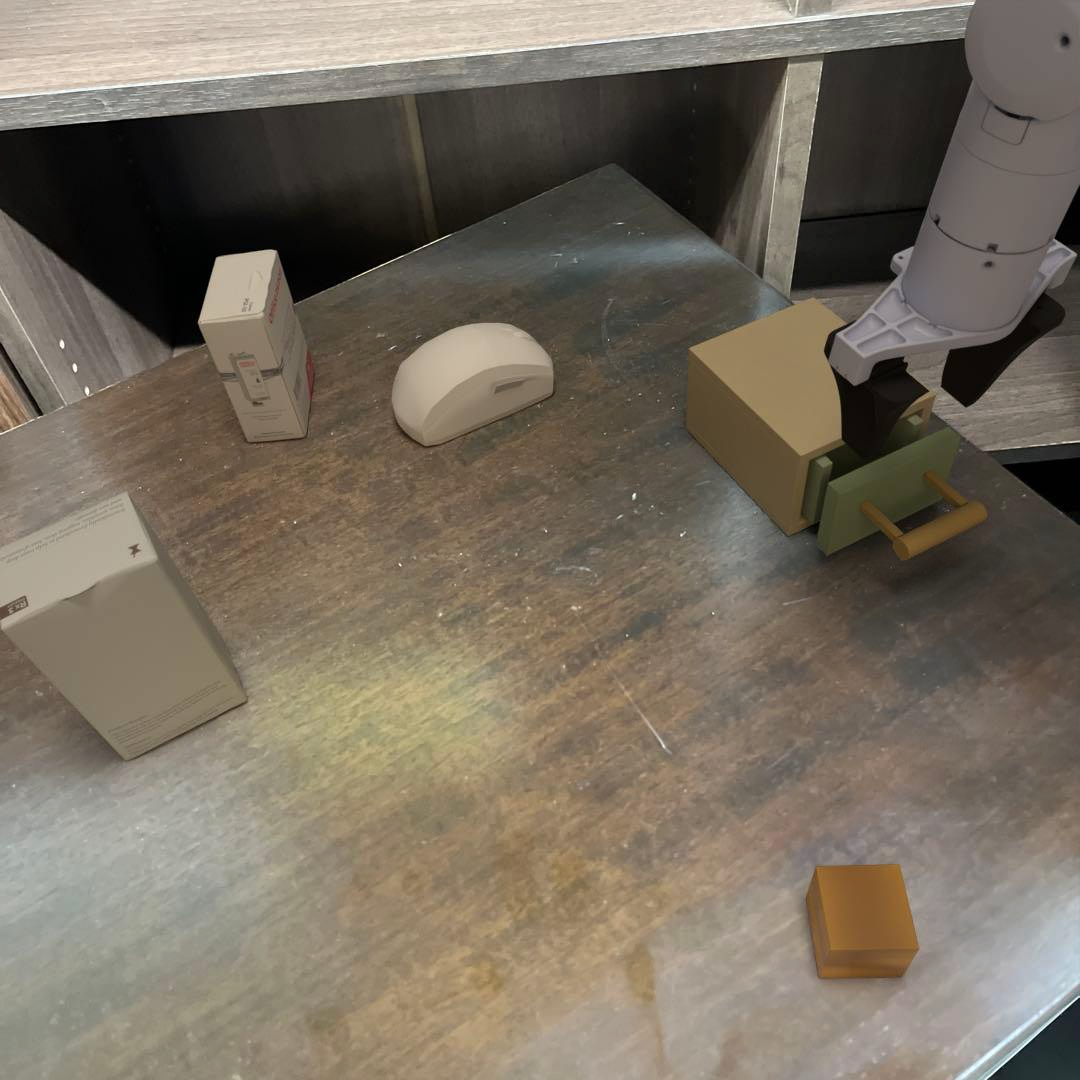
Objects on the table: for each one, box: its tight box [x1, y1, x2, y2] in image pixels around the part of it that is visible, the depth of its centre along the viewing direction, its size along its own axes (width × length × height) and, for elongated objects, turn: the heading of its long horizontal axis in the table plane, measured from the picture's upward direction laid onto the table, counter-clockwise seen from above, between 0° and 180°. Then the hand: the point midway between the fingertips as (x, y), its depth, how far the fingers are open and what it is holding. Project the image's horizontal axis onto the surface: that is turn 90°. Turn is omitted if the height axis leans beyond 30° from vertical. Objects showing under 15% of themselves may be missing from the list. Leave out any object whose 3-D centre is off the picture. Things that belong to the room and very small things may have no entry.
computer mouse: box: [390, 322, 555, 447], centre depth 76 cm, size 6×13×6 cm, turn 118°
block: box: [805, 863, 920, 979], centre depth 48 cm, size 4×4×4 cm
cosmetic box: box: [0, 491, 248, 762], centre depth 56 cm, size 8×6×15 cm
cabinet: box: [685, 296, 937, 537], centre depth 69 cm, size 13×11×8 cm
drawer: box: [801, 413, 988, 561], centre depth 65 cm, size 16×9×6 cm, turn 27°
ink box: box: [197, 249, 315, 443], centre depth 75 cm, size 9×5×12 cm, turn 3°
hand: (908, 420), depth 56 cm, fingers open, 7 cm apart
